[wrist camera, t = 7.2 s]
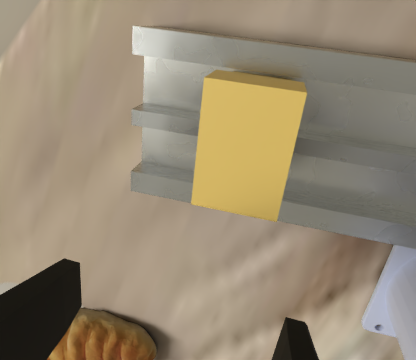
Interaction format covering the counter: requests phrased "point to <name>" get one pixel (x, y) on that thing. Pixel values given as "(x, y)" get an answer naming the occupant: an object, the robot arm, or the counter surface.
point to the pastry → (103, 339)
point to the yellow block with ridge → (246, 142)
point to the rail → (307, 134)
